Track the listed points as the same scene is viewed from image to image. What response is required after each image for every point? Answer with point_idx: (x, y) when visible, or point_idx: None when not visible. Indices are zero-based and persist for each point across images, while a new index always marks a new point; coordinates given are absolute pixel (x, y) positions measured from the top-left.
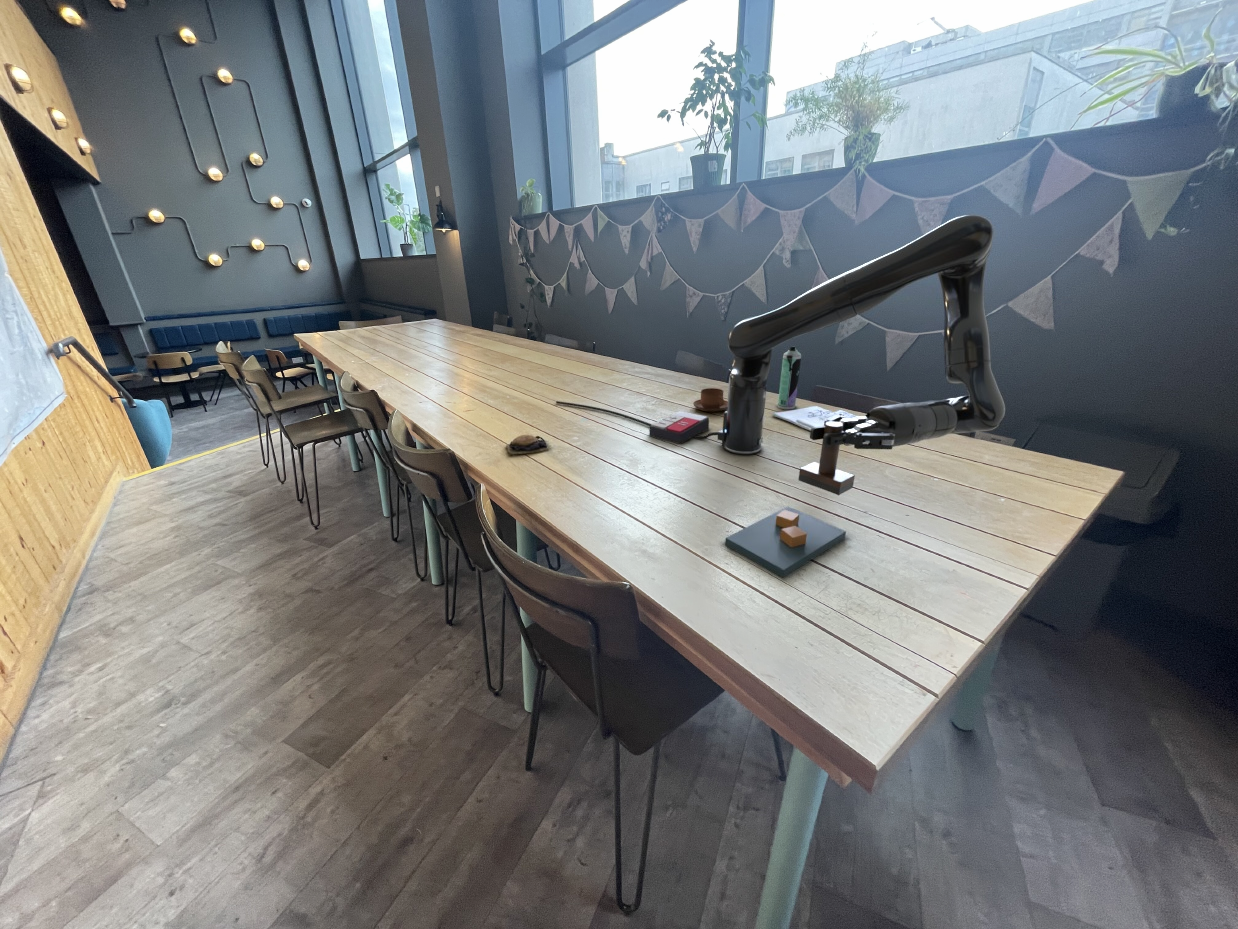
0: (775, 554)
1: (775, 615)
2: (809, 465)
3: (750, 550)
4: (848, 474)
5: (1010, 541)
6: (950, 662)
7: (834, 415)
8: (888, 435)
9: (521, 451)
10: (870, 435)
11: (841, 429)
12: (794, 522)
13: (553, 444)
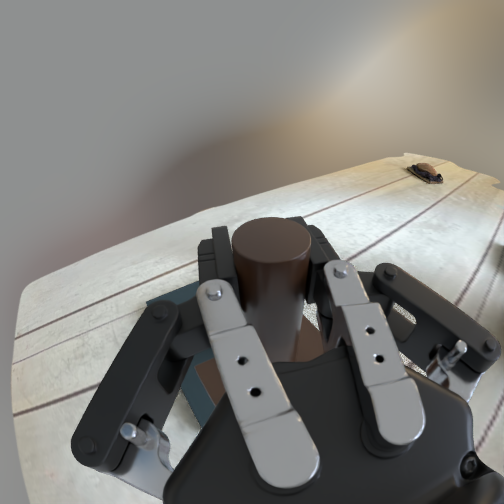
0: (176, 304)
1: (110, 284)
2: (318, 338)
3: (194, 283)
4: None
5: None
6: (16, 371)
7: (467, 316)
8: (83, 422)
9: (413, 171)
10: (124, 343)
11: (238, 267)
12: None
13: (442, 186)
